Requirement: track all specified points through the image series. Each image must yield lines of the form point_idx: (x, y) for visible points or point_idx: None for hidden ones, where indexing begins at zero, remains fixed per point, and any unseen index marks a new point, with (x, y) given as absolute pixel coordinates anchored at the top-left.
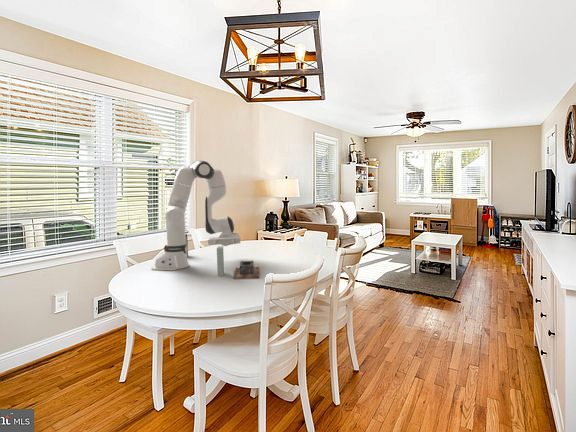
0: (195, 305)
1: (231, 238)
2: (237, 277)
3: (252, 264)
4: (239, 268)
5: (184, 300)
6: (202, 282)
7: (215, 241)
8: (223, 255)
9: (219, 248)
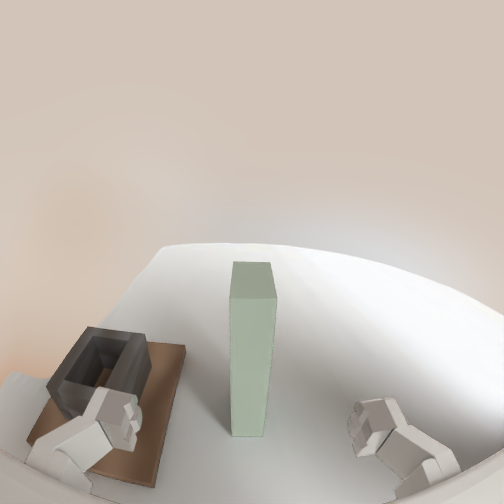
0: (267, 253)
1: (60, 484)
2: (168, 345)
3: (83, 336)
4: (131, 457)
5: (296, 264)
6: (302, 335)
7: (391, 424)
8: (230, 358)
9: (251, 262)
